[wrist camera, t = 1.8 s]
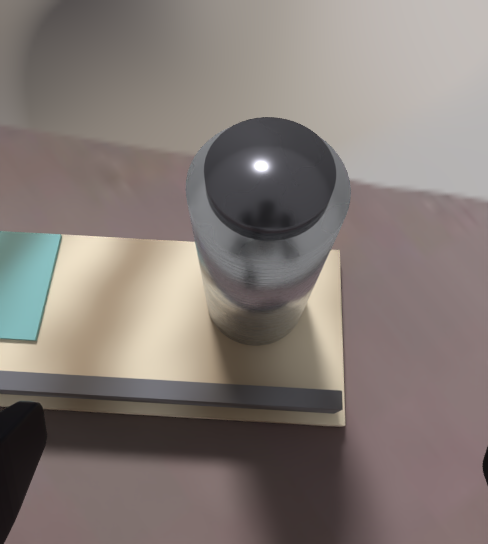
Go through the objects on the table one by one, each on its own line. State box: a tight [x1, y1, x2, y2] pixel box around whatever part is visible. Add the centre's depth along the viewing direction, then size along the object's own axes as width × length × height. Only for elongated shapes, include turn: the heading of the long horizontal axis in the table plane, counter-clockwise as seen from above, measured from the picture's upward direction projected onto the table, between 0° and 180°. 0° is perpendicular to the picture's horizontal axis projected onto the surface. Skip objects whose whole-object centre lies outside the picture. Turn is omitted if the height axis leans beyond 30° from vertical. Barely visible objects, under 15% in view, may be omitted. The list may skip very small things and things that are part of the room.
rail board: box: [0, 231, 345, 427], centre depth 22 cm, size 23×9×3 cm, turn 87°
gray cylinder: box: [186, 117, 351, 346], centre depth 18 cm, size 5×5×11 cm
